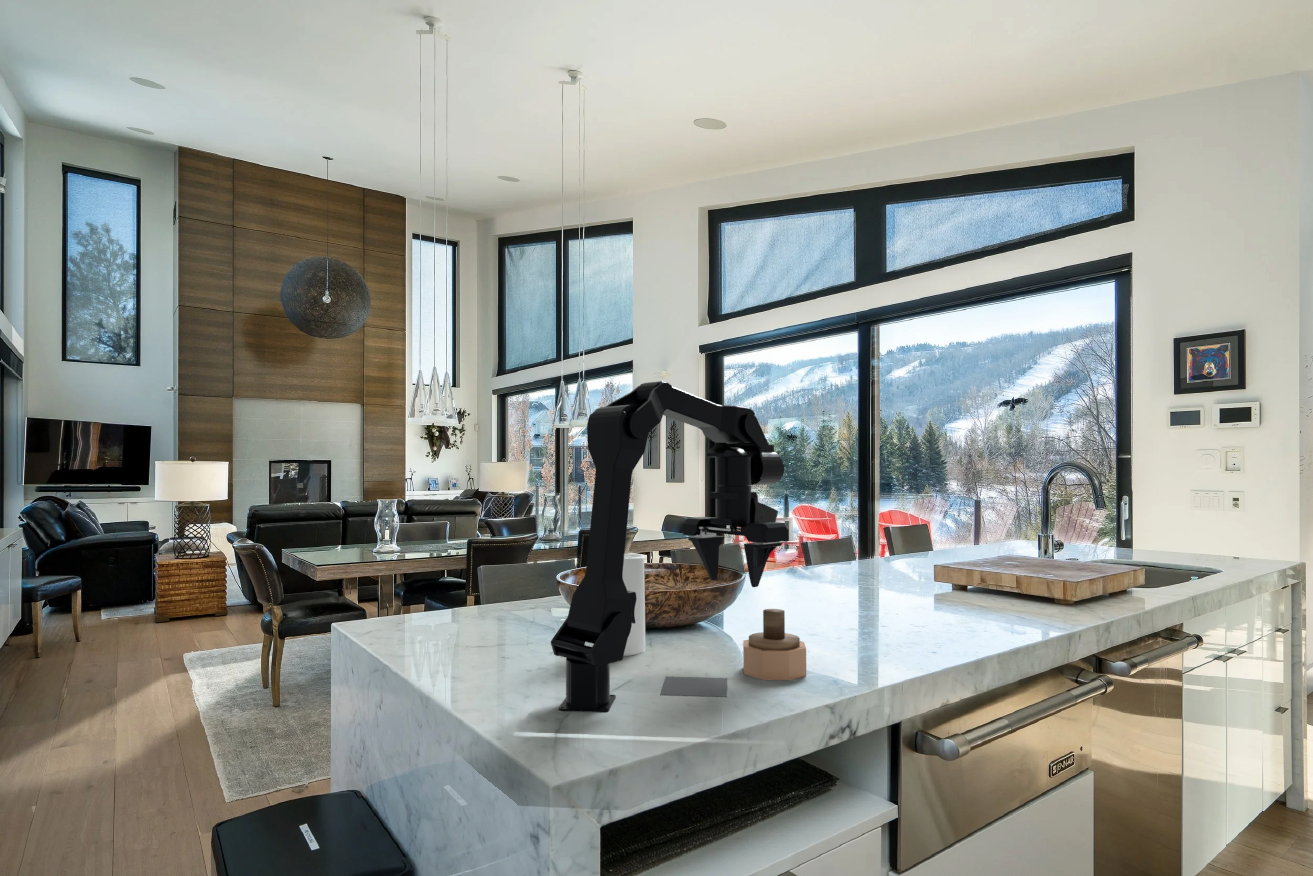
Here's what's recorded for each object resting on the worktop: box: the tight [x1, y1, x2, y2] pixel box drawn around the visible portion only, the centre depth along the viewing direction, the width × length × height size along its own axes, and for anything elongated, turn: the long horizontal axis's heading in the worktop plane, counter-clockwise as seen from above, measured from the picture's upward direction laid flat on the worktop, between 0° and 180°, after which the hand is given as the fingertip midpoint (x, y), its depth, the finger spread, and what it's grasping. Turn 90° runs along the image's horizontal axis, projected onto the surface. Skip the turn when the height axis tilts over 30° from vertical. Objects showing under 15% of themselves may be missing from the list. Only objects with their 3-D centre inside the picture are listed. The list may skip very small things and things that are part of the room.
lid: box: [748, 608, 801, 650], centre depth 114 cm, size 8×8×5 cm
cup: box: [623, 553, 646, 657], centre depth 128 cm, size 8×8×16 cm
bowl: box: [742, 639, 807, 681], centre depth 114 cm, size 9×9×4 cm
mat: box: [659, 675, 728, 698], centre depth 106 cm, size 9×9×1 cm
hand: (733, 583), depth 121 cm, fingers open, 9 cm apart
